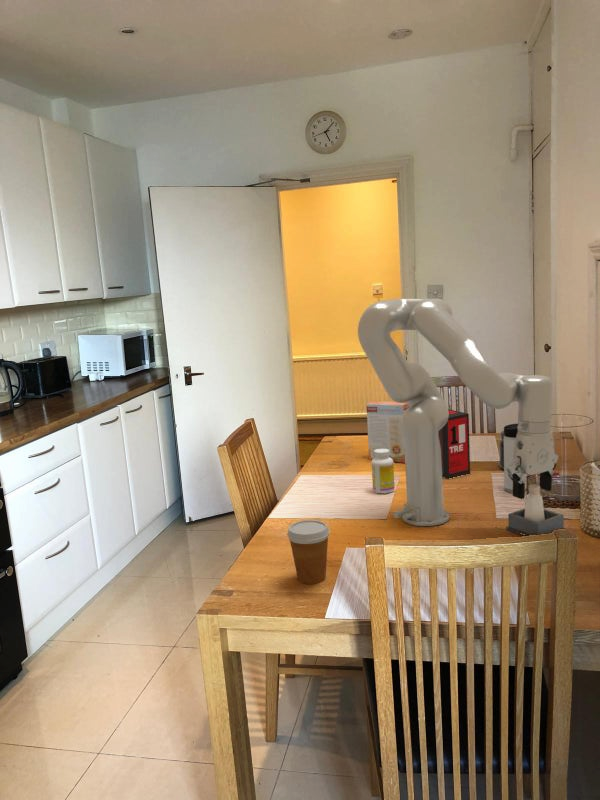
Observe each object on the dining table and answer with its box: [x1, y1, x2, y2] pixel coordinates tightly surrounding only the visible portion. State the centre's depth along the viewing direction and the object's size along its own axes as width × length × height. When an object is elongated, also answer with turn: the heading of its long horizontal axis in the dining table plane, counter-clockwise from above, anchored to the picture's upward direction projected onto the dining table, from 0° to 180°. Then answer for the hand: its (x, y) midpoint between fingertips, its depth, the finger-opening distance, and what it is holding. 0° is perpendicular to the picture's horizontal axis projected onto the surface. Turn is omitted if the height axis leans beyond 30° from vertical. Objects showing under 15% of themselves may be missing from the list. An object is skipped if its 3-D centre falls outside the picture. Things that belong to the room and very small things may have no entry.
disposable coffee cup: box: [286, 519, 331, 585], centre depth 148 cm, size 10×10×12 cm
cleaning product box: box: [439, 408, 471, 480], centre depth 218 cm, size 16×9×20 cm, turn 26°
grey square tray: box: [505, 508, 567, 537], centre depth 166 cm, size 10×10×4 cm
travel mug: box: [503, 423, 528, 494], centre depth 195 cm, size 6×7×20 cm
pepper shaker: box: [524, 483, 545, 522], centre depth 165 cm, size 5×5×11 cm
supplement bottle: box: [371, 449, 396, 495], centre depth 203 cm, size 7×7×13 cm
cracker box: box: [365, 400, 410, 464], centre depth 236 cm, size 14×6×21 cm, turn 58°
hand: (532, 493), depth 165 cm, fingers open, 9 cm apart
